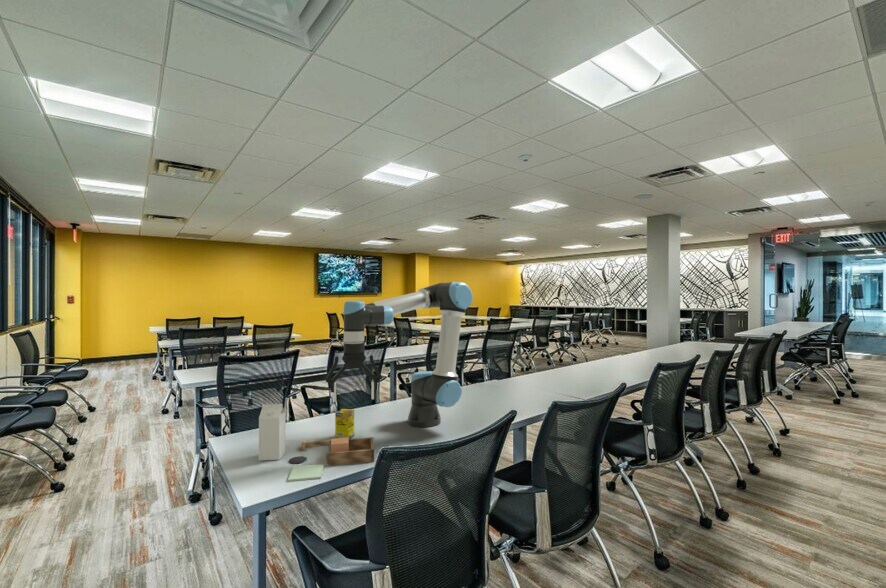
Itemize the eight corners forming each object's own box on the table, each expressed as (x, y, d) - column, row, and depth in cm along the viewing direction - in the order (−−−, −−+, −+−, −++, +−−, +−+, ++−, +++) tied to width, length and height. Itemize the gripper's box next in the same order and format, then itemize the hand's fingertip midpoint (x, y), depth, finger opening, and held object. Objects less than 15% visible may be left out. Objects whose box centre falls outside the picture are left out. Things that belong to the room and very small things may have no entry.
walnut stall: (373, 447, 155) (373, 437, 155) (374, 461, 142) (374, 450, 142) (329, 451, 151) (329, 440, 152) (326, 465, 139) (326, 453, 139)
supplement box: (348, 440, 163) (348, 413, 163) (334, 439, 164) (334, 412, 164) (354, 435, 169) (354, 409, 169) (341, 434, 170) (341, 408, 170)
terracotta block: (348, 453, 149) (348, 437, 149) (348, 459, 144) (348, 443, 144) (331, 454, 148) (331, 438, 148) (330, 461, 142) (330, 444, 142)
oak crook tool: (339, 442, 160) (339, 438, 160) (338, 448, 154) (338, 444, 154) (302, 445, 157) (302, 441, 157) (300, 451, 151) (300, 447, 151)
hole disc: (307, 456, 147) (307, 455, 147) (305, 463, 141) (305, 462, 141) (290, 457, 145) (290, 456, 145) (287, 464, 140) (287, 463, 140)
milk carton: (265, 453, 150) (265, 402, 150) (285, 452, 150) (285, 401, 150) (258, 461, 143) (258, 407, 143) (279, 460, 143) (279, 406, 143)
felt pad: (323, 465, 139) (323, 463, 139) (320, 478, 129) (320, 476, 129) (293, 468, 137) (293, 466, 137) (287, 481, 127) (287, 479, 127)
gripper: (386, 340, 157) (386, 395, 156) (319, 342, 150) (319, 399, 150) (389, 342, 149) (389, 399, 149) (318, 344, 143) (318, 404, 143)
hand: (354, 399), depth 150 cm, fingers open, 13 cm apart
